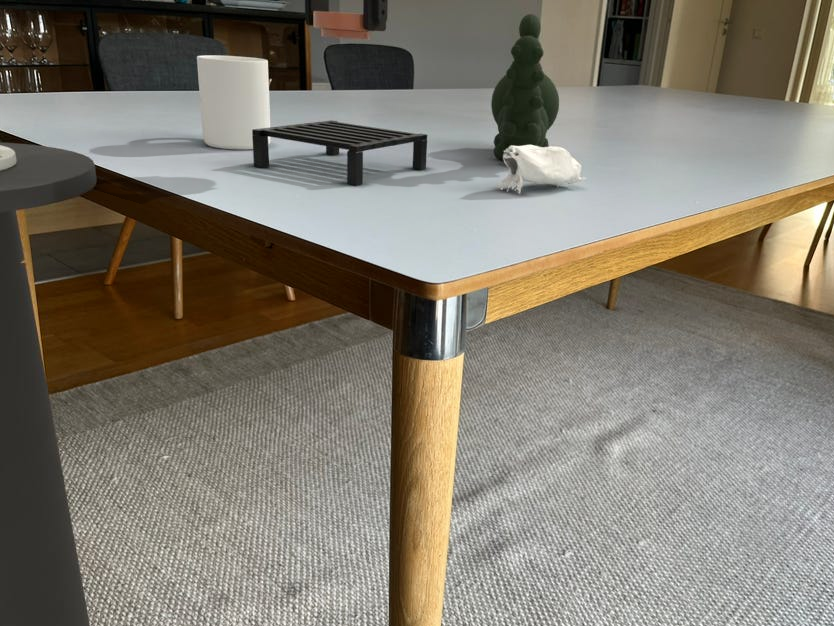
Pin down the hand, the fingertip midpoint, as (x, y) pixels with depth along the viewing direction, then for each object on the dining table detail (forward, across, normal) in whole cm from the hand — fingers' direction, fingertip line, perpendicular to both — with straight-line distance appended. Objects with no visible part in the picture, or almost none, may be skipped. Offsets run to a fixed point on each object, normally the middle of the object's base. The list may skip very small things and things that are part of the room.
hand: (345, 26), depth 81 cm
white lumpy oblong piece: (+15, +21, +8) cm, 27 cm away
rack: (+15, -1, +1) cm, 15 cm away
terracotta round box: (+1, 0, 0) cm, 1 cm away
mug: (+15, -21, +4) cm, 26 cm away
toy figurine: (+15, +10, +26) cm, 32 cm away
